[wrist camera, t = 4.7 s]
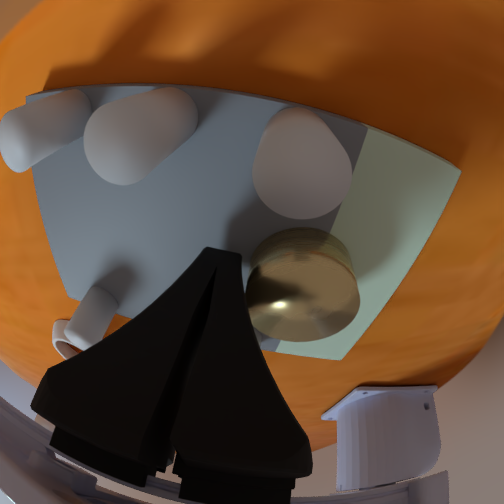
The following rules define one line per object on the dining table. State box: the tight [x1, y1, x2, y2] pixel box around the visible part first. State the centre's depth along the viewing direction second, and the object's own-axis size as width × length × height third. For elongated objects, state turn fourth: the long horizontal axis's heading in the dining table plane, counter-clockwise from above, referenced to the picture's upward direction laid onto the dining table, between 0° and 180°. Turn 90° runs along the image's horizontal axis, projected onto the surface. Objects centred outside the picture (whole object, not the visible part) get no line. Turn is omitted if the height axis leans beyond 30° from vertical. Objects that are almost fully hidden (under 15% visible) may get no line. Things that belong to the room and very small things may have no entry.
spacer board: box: [0, 83, 462, 360], centre depth 10 cm, size 17×12×4 cm
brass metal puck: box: [245, 227, 360, 342], centre depth 10 cm, size 4×4×2 cm
